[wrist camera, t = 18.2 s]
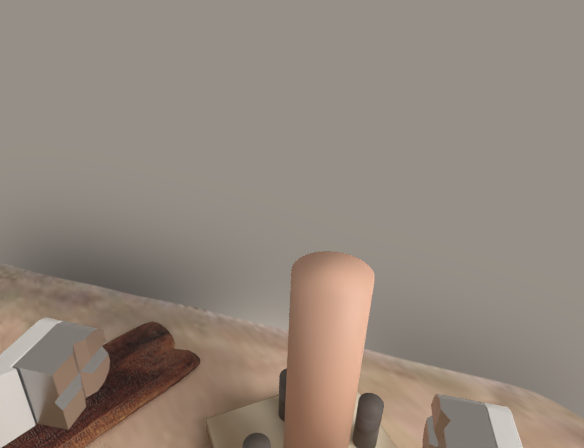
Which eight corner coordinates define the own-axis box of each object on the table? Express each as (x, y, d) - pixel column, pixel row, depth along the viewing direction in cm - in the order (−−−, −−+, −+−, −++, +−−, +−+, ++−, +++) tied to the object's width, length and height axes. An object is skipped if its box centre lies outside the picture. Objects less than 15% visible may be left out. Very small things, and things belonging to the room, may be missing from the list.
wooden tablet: (-135, 592, 26) (-166, 472, 31) (-121, 605, 27) (-153, 488, 32) (208, 358, 44) (153, 307, 49) (207, 372, 45) (153, 321, 50)
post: (298, 503, 31) (313, 306, 22) (273, 445, 35) (279, 259, 26) (357, 478, 32) (391, 287, 24) (326, 425, 36) (347, 246, 28)
